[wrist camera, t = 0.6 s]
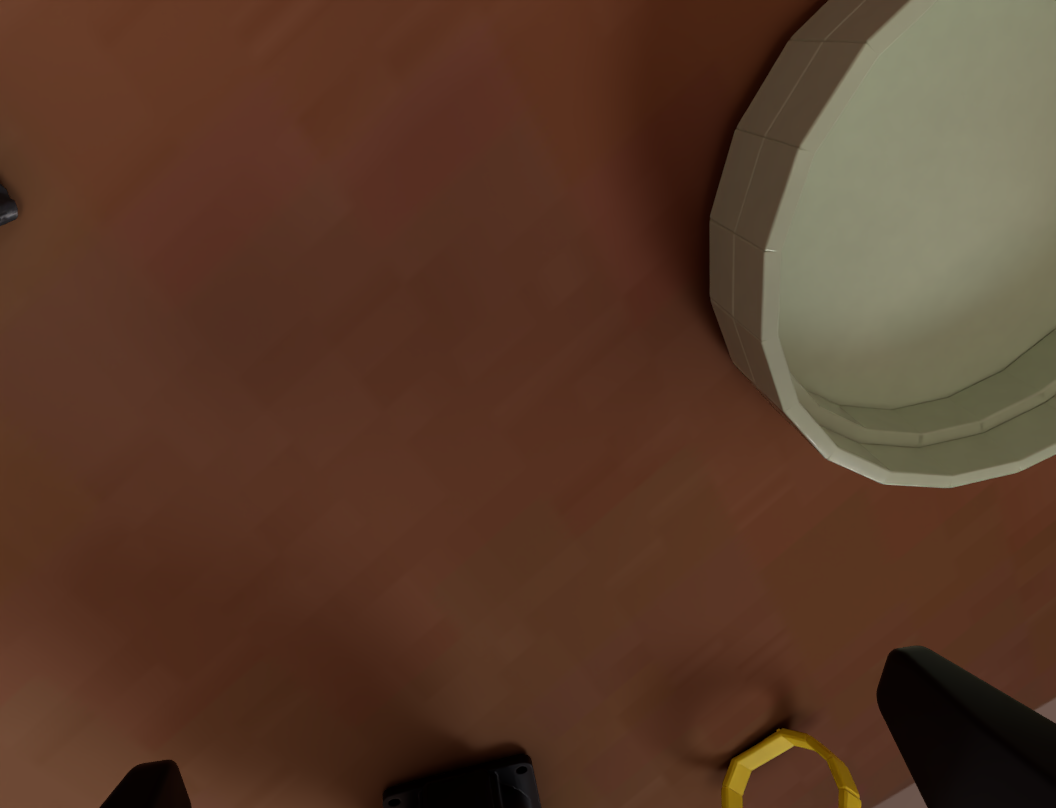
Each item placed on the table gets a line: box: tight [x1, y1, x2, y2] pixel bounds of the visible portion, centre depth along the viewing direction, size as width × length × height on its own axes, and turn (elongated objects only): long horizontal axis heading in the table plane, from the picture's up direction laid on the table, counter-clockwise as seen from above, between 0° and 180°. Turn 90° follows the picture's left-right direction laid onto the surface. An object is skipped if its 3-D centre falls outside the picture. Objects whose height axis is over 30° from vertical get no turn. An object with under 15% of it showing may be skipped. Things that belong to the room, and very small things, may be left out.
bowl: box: [710, 0, 1056, 488], centre depth 20 cm, size 15×15×4 cm
